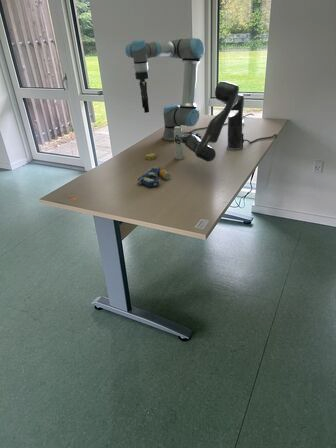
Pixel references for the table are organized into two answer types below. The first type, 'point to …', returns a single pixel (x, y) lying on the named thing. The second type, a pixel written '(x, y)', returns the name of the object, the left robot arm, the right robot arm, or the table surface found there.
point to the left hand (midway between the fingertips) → (145, 109)
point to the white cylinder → (178, 146)
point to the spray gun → (153, 174)
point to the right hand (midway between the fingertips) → (183, 135)
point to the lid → (150, 156)
